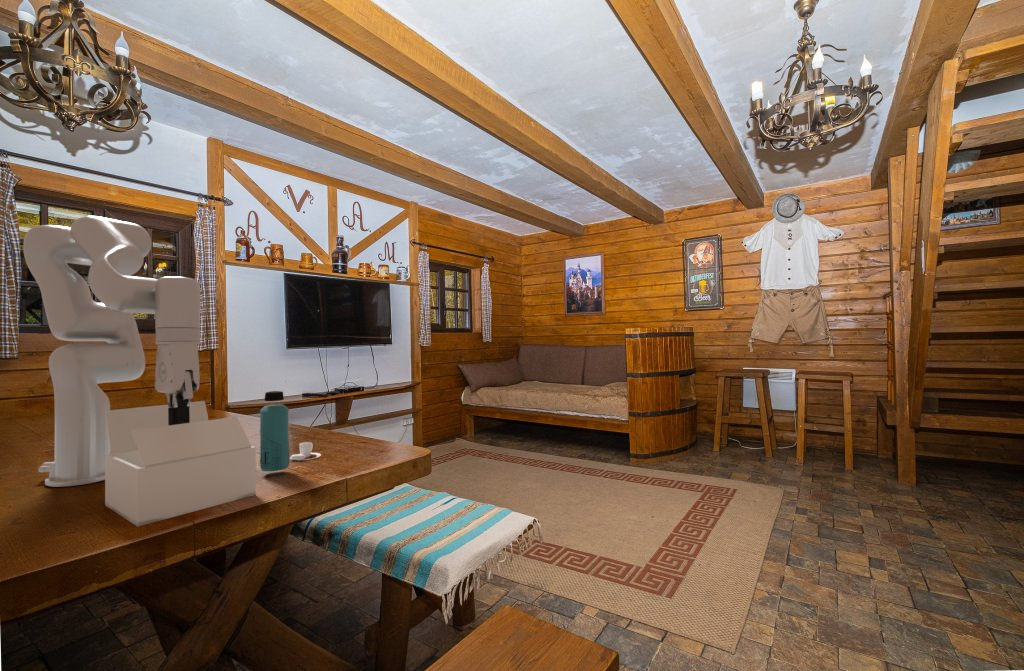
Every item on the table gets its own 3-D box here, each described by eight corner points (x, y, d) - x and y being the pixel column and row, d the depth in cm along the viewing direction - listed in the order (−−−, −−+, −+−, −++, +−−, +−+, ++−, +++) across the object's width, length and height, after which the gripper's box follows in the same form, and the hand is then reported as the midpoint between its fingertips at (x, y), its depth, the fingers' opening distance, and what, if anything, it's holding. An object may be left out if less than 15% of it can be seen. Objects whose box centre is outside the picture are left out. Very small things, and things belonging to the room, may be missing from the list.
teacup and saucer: (296, 464, 123) (296, 448, 123) (281, 459, 127) (281, 444, 128) (326, 457, 130) (326, 442, 130) (311, 453, 134) (311, 439, 135)
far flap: (105, 410, 94) (105, 411, 95) (111, 453, 92) (111, 454, 92) (204, 400, 109) (203, 401, 109) (212, 437, 107) (210, 438, 107)
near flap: (144, 467, 82) (145, 465, 82) (132, 432, 86) (132, 430, 85) (250, 447, 97) (251, 445, 96) (235, 418, 100) (236, 416, 100)
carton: (137, 526, 81) (137, 469, 81) (105, 505, 91) (105, 454, 91) (255, 494, 97) (255, 446, 97) (216, 479, 108) (216, 436, 108)
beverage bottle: (295, 470, 115) (295, 389, 115) (279, 478, 109) (279, 392, 109) (270, 469, 116) (270, 389, 116) (253, 477, 109) (252, 392, 109)
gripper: (143, 338, 97) (143, 426, 97) (171, 336, 89) (172, 433, 88) (184, 337, 103) (185, 420, 103) (214, 336, 95) (215, 426, 94)
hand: (179, 426), depth 96 cm, fingers closed
